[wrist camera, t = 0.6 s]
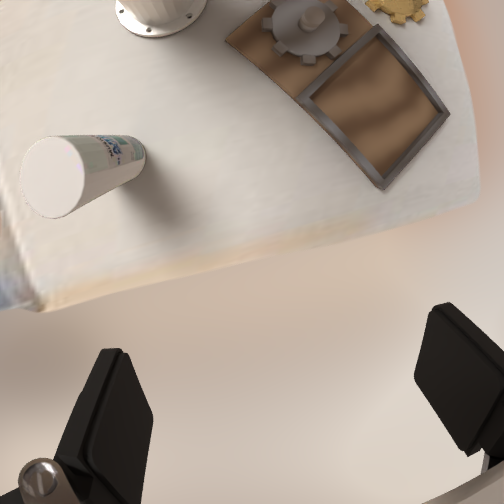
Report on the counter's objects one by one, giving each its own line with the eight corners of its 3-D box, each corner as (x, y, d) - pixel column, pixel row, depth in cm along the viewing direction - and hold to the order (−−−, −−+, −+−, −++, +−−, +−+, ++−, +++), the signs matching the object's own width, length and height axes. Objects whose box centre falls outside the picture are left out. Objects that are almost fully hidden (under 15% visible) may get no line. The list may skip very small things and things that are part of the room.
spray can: (94, 169, 39) (10, 198, 20) (115, 126, 37) (35, 123, 19) (133, 190, 40) (67, 233, 22) (155, 147, 39) (98, 156, 20)
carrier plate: (225, 41, 35) (225, 24, 29) (309, -26, 31) (321, -47, 25) (376, 187, 43) (397, 195, 37) (441, 114, 40) (467, 114, 34)
